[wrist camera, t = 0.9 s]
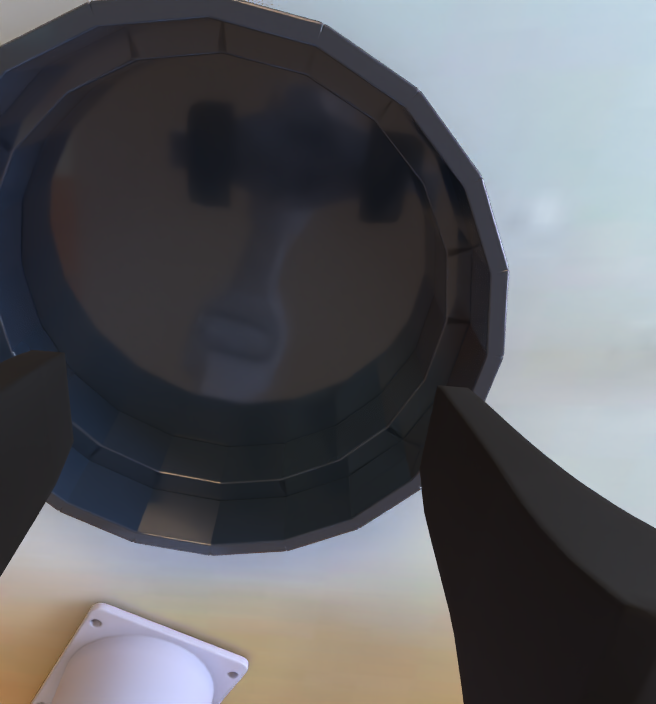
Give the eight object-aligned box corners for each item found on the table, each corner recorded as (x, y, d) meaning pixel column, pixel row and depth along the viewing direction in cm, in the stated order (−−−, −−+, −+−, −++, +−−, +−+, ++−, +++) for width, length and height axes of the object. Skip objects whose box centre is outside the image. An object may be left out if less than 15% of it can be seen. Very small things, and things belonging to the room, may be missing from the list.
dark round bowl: (312, 518, 26) (310, 617, 22) (-69, 341, 22) (-166, 418, 18) (568, 195, 20) (637, 241, 16) (103, -130, 16) (19, -190, 12)
